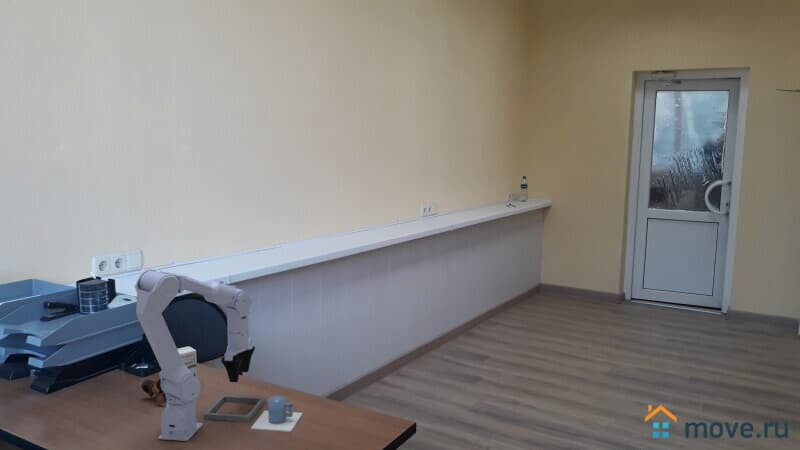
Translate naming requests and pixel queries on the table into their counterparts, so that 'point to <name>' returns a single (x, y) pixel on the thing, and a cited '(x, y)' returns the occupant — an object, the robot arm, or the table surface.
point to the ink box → (189, 359)
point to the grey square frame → (232, 417)
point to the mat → (284, 427)
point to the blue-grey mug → (278, 409)
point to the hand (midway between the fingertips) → (239, 376)
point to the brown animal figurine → (154, 390)
